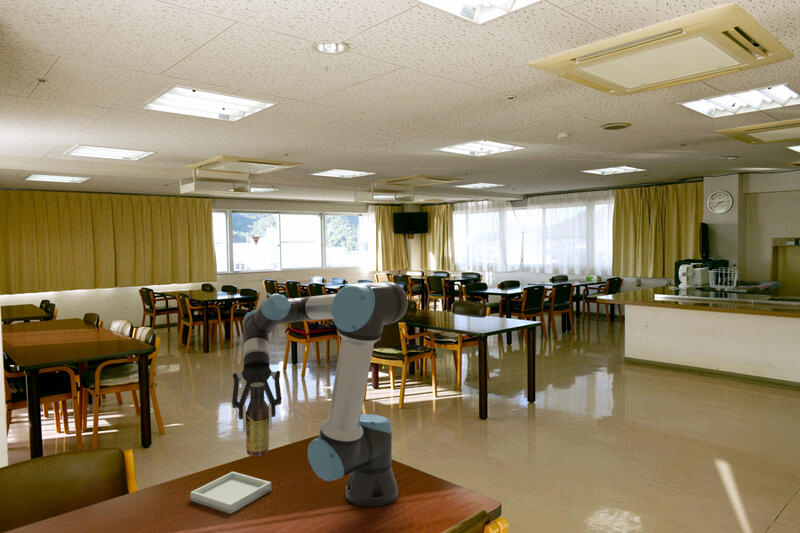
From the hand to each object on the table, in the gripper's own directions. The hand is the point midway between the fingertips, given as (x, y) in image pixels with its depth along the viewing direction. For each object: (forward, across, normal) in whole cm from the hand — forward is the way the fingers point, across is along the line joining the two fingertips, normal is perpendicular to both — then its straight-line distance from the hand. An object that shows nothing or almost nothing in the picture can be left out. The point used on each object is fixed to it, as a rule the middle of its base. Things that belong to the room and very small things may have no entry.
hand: (257, 428), depth 145 cm
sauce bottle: (+4, 0, -9) cm, 9 cm away
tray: (+8, +7, -25) cm, 27 cm away
